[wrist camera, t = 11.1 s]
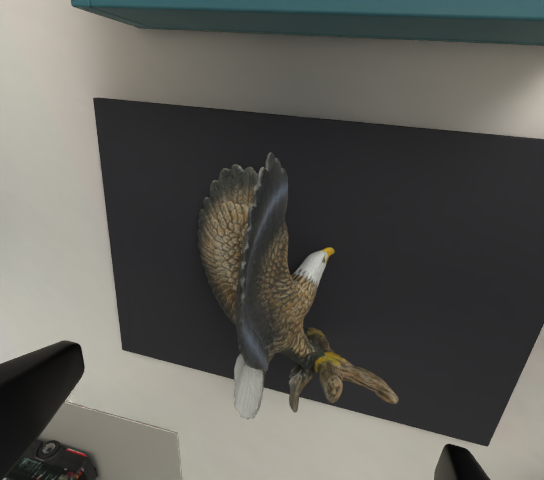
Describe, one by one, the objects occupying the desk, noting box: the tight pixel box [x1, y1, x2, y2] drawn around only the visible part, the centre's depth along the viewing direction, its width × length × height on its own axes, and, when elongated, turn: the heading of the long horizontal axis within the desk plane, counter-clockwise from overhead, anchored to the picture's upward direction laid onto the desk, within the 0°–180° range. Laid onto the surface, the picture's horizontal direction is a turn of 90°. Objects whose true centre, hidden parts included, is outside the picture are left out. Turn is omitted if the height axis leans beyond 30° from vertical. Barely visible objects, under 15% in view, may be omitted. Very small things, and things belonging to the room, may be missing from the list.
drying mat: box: [93, 98, 544, 446], centre depth 16 cm, size 20×14×1 cm
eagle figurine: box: [197, 152, 399, 419], centre depth 13 cm, size 8×7×9 cm
